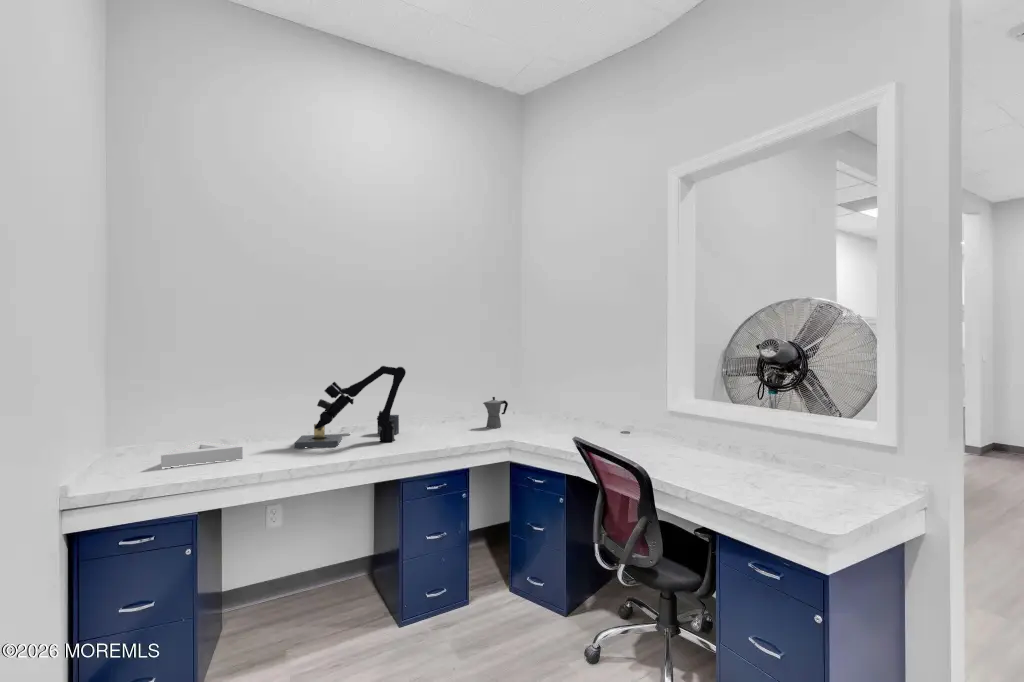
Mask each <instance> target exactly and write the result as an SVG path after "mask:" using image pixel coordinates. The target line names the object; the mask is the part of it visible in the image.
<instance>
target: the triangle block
mask: <svg viewBox="0 0 1024 682" xmlns="http://www.w3.org/2000/svg"><path fill="white" fill-rule="evenodd" d="M243 448H244V447H243V446H240V445H239V446H238V445H234V444H233V445H231V444H225V443H224V444H223V443H218V442H209V441H203V440H198V441H196V442H192V443H190V444H187V445H185V446H182V447H179V448H177V449H174V450H172V451H169V452H167V453H164V454H161V455H160V468H161V467H171V466H179V465H187V464H196V463H206V462H215V461H226V460H236V459H244V458H243V457H244V455H243ZM236 461H237V460H236Z"/></svg>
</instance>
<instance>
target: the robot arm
mask: <svg viewBox="0 0 1024 682" xmlns="http://www.w3.org/2000/svg"><path fill="white" fill-rule="evenodd" d="M406 373H407V372H406V369H405V368H404V366H397V367H392V366H386V365H381V366H380V367H379V368H378V369H376V370H375V371H373V372H372V373H371V374H369V375H368V376H366V377H365V378H364V379H362V380H360V381H358V382H355V383H353V384H352V385H351V384H350V386H348V387H343V388H342V387H341V386H339V385H338V383H337V382H336V381H333V382H332V383H331V384H330V385H328V386H327V387H326V388H325V389H324V393H326V394H327V395H328V396H329V397H330V398H331V399H335V400H334V401H332V402H330V401H327V400H324V399H323V398H321V399H319V401H318V403H317V405H316V406H317V407H318V408H319V407H320V408H322V409H324V411H322V412H321V413H320V414H319V420H318V422H317V423H316V424H317V425H316V426H315V429H318V428H320V427H322V426H324V425H325V426H326V425H328V424H330V423H332V422H333V420H334V419H335V418H336V417H338V416H337V415H339V414H340V412H342V411H343V410H344V409H345V407H347V406H348V404H349V403H350V404H351V405H353V404H354V403H355V401H354V400H355V399H354V397H357V395H359V394H360V393H361V392H362V391H363V390H364V389H365V388H366V387H368V385H370V384H371V383H373V382H374V381H375V380H377V379H379V378H380V377H381V376H383V375H390V376H393V380H392V383H391V387H390V390H389V393H388V396H387V399H386V402H385V405H384V407H383V409H382V410H379V412H378V415H377V416H378V417H376V420H377V426H378V425H379V426H380V427H381V428H382V429H381V432H380V435H379V443H393V442H394V441H396V439H395V435H394V429H392V428H393V423H392V422H391V421H390V420H389V419H390V415H391V411H392V408H393V406H394V405H393V404H394V402H395V399H396V397H397V393H398V390H399V387H400V385H401V383H402V382H403V380H404V378H405V376H406ZM392 441H393V442H392Z"/></svg>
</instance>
